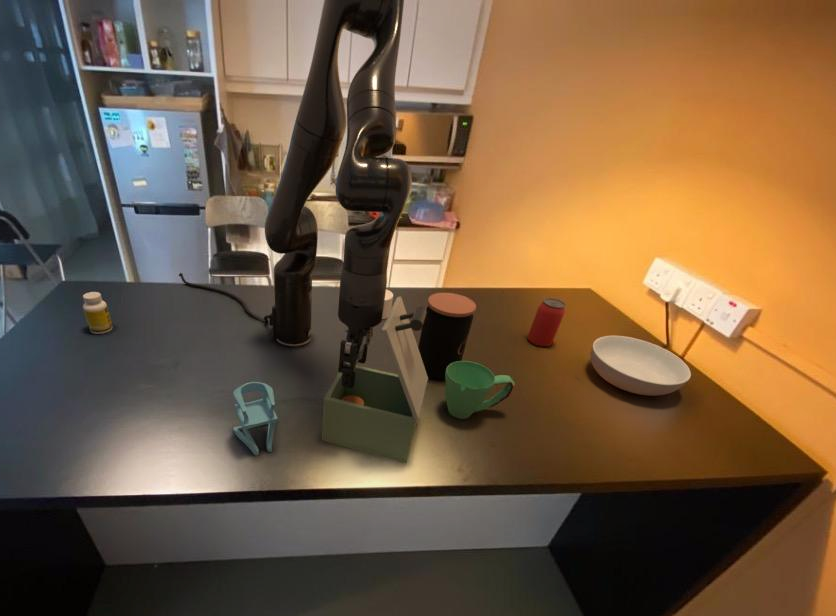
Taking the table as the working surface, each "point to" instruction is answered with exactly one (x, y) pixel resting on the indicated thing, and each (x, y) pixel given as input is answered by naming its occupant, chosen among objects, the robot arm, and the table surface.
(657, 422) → the table surface
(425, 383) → the box lid
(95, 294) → the supplement bottle
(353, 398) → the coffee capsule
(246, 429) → the chair
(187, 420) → the table surface
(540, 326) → the beer can
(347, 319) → the robot arm
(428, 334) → the coffee jar
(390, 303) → the base with upright slab
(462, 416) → the mug
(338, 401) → the pale green hollow box
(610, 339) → the serving bowl
